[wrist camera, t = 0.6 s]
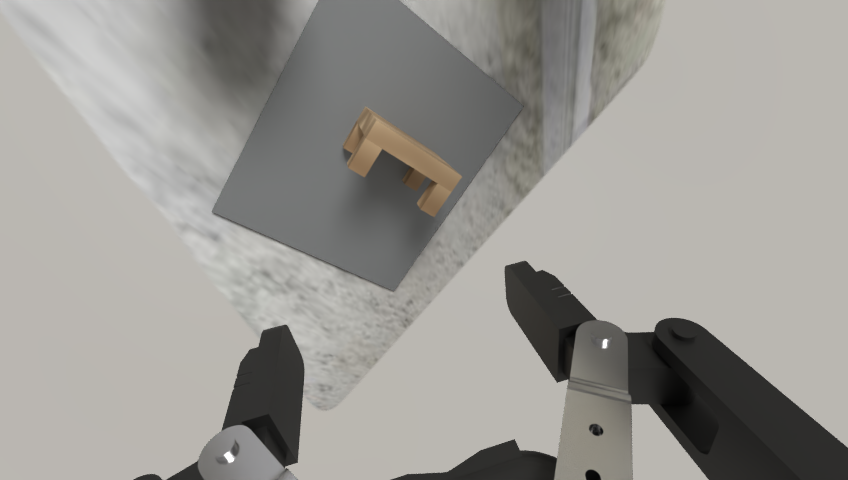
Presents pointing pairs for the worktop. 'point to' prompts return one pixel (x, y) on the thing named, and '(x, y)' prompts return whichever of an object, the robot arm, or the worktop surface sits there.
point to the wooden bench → (400, 158)
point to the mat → (334, 119)
